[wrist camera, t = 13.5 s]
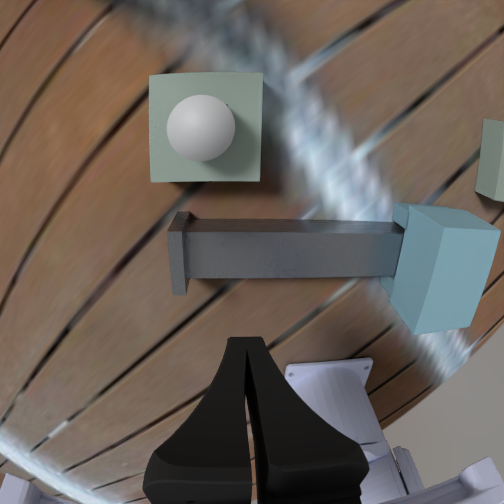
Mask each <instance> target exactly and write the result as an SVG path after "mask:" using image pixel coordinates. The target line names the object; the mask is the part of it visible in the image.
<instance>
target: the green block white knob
mask: <svg viewBox="0 0 504 504" xmlns="http://www.w3.org/2000/svg"><path fill="white" fill-rule="evenodd" d="M262 95H263V73H258V72H194V73H174V74H160V75H149V145H150V173H151V182H184V181H260V159H261V128H262Z"/></svg>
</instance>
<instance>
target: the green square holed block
mask: <svg viewBox="0 0 504 504" xmlns="http://www.w3.org/2000/svg"><path fill="white" fill-rule="evenodd" d="M475 191H476V192H478V193H480V194H482V195H484V196H486V197H488V198H491V199H493V200H496V201H503V202H504V122H502V121H496V120H490V119H483V131H482V141H481V151H480V159H479V167H478V174H477V180H476V186H475Z"/></svg>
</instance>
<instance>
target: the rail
mask: <svg viewBox="0 0 504 504" xmlns="http://www.w3.org/2000/svg"><path fill="white" fill-rule="evenodd" d="M404 233H405V229H404V228H403V227H402V226H400V225H399V224H398V223H396V222H370V221H337V220H290V219H190V212H177V214H176V215H175V217H174V219H173V221H172V223H171V225H170V227H169V229H168V231H167V237H168V249H169V261H170V272H171V282H172V292H173V295H186V294H187V289H188V285H189V280H190V278H316V277H362V276H395V275H396V271H397V266H398V262H399V257H400V253H401V248H402V243H403V238H404Z"/></svg>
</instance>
